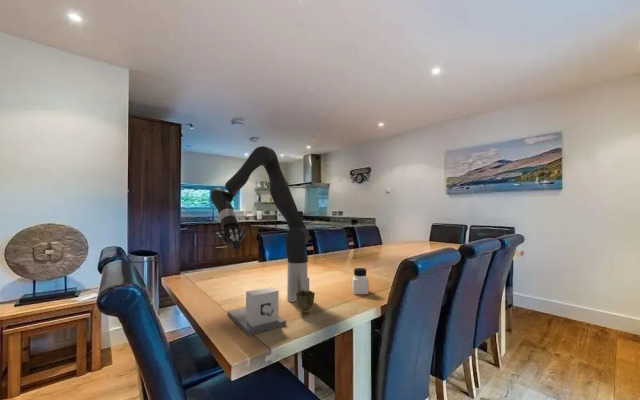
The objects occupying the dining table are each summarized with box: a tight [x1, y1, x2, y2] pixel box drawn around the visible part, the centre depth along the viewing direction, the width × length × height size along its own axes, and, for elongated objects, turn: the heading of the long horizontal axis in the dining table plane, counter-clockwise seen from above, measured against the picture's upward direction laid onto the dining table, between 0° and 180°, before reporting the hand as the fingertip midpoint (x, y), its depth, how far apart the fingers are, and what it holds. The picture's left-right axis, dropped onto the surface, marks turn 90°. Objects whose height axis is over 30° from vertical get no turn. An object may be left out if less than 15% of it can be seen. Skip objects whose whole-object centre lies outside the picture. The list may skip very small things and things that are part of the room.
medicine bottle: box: [351, 267, 369, 295], centre depth 139 cm, size 7×7×12 cm
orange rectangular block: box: [261, 304, 274, 316], centre depth 99 cm, size 6×11×9 cm, turn 36°
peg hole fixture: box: [227, 286, 287, 336], centre depth 105 cm, size 14×22×12 cm, turn 36°
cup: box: [296, 290, 316, 315], centre depth 112 cm, size 8×7×8 cm
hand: (237, 249), depth 122 cm, fingers closed
